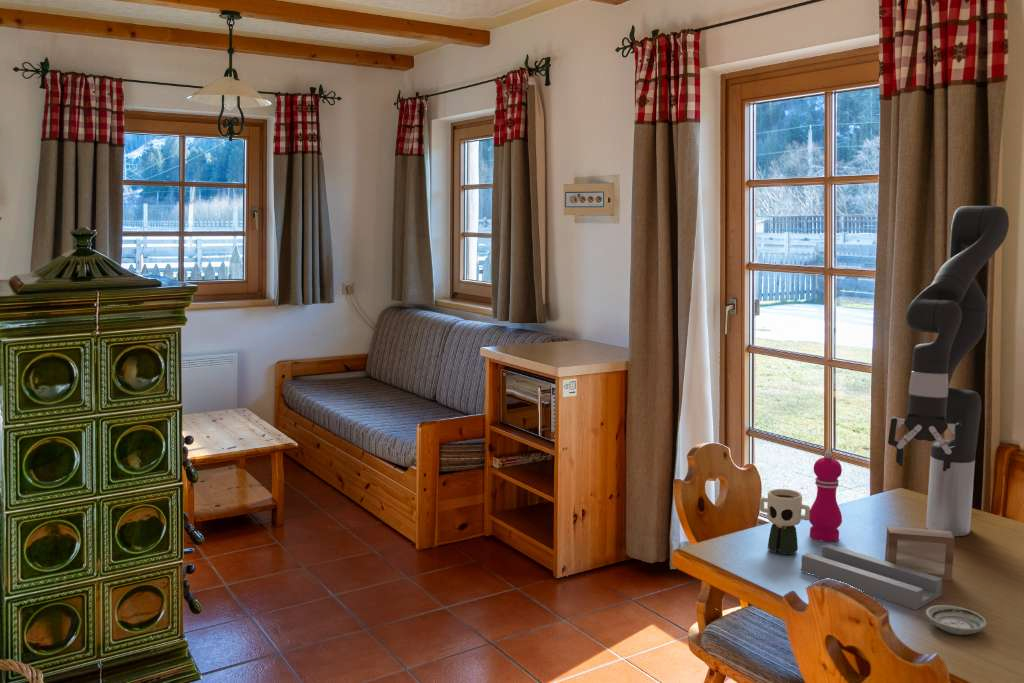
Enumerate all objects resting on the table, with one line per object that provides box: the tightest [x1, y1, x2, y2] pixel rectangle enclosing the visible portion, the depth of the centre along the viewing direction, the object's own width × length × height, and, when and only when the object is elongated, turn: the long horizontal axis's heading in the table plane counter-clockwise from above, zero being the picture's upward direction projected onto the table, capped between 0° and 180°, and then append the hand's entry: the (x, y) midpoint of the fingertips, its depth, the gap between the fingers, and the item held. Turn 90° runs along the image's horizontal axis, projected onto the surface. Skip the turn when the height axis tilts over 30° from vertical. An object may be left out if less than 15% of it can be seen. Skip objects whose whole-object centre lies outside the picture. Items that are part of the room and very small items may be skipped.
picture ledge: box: [800, 543, 943, 611], centre depth 180 cm, size 10×24×4 cm, turn 40°
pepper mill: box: [808, 450, 843, 543], centre depth 205 cm, size 7×7×20 cm
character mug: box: [759, 488, 811, 555], centre depth 197 cm, size 11×7×13 cm, turn 55°
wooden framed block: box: [884, 526, 956, 582], centre depth 184 cm, size 4×12×9 cm, turn 75°
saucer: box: [925, 604, 987, 636], centre depth 161 cm, size 10×10×2 cm
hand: (922, 468), depth 195 cm, fingers open, 8 cm apart
